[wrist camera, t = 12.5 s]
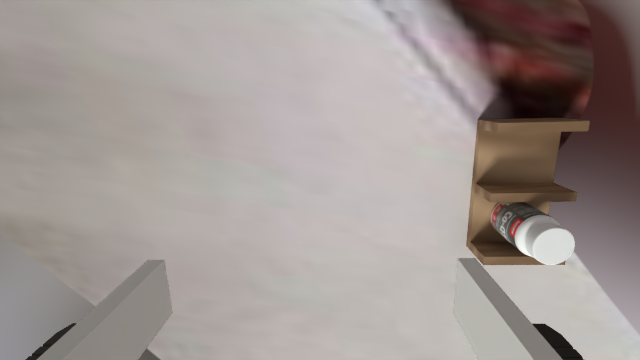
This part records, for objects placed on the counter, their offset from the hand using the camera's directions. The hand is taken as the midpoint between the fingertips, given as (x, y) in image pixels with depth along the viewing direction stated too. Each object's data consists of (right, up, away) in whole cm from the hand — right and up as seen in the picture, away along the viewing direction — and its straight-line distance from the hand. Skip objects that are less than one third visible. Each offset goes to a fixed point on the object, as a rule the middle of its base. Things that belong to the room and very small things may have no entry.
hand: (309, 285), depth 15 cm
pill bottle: (+24, 0, +26) cm, 35 cm away
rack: (+24, +4, +26) cm, 35 cm away
